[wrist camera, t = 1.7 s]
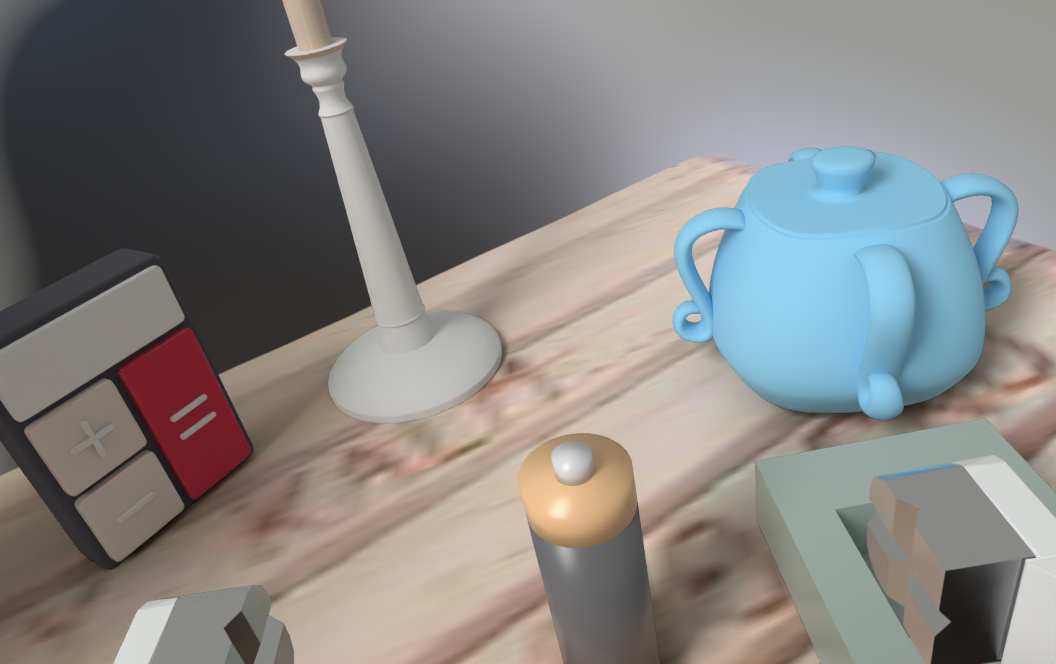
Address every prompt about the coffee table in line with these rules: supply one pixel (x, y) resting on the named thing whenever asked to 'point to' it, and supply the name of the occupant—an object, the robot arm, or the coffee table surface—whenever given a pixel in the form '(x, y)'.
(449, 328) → the candlestick
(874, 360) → the decorative pot
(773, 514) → the block
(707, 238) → the coffee table surface
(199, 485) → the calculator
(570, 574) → the battery cell
